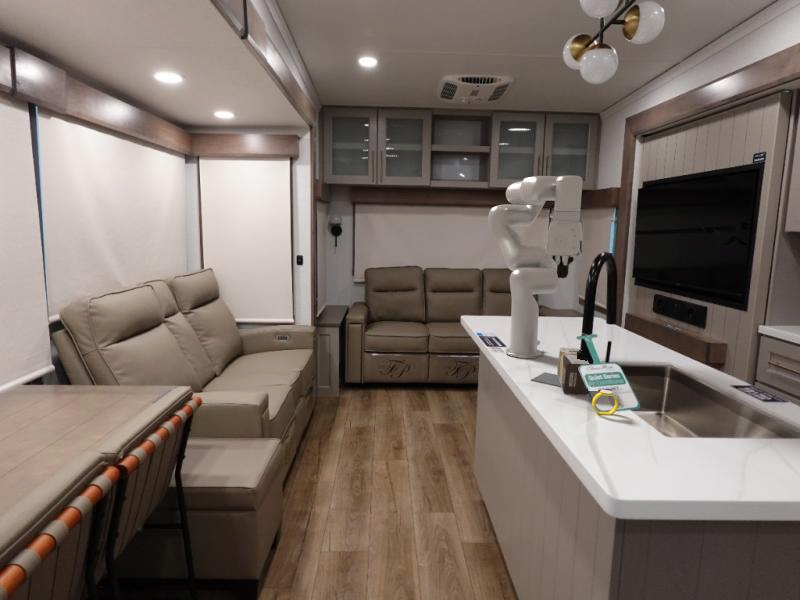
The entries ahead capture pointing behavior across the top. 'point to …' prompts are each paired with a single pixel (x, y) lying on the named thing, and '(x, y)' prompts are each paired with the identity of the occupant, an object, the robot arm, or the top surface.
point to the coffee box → (570, 371)
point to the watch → (605, 393)
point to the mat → (547, 379)
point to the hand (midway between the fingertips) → (562, 277)
